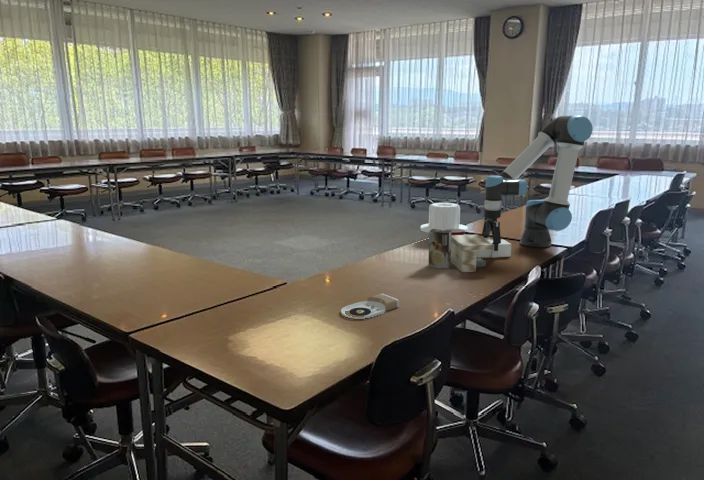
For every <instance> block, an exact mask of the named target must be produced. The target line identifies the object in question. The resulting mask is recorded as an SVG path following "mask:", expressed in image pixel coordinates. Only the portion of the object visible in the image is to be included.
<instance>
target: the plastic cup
mask: <svg viewBox="0 0 704 480" xmlns="http://www.w3.org/2000/svg"><path fill="white" fill-rule="evenodd" d="M443 230H452V235H465V233H466V232H465V230H464V229H443Z"/></svg>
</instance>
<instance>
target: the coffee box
mask: <svg viewBox="0 0 704 480" xmlns="http://www.w3.org/2000/svg"><path fill="white" fill-rule="evenodd" d="M451 237H452V230H441V229H431V230H430V231H429V233H428V268H434V269H435V268H437V269H446V270H447V269H448V270H449V269H450V268H451V267H452V262H451Z"/></svg>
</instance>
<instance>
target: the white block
mask: <svg viewBox="0 0 704 480" xmlns="http://www.w3.org/2000/svg"><path fill="white" fill-rule="evenodd" d="M487 241H488V242H490V243H491V244H492V243H493V239H489V240H487ZM511 255H512V243H510V242H508V241H507V240H505V239H503V238H501V244H499V247H498V257H497V258H505V257H507V258H509V257H511ZM477 257H482V258H492V249H490V250H477V256H476V258H477Z"/></svg>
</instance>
